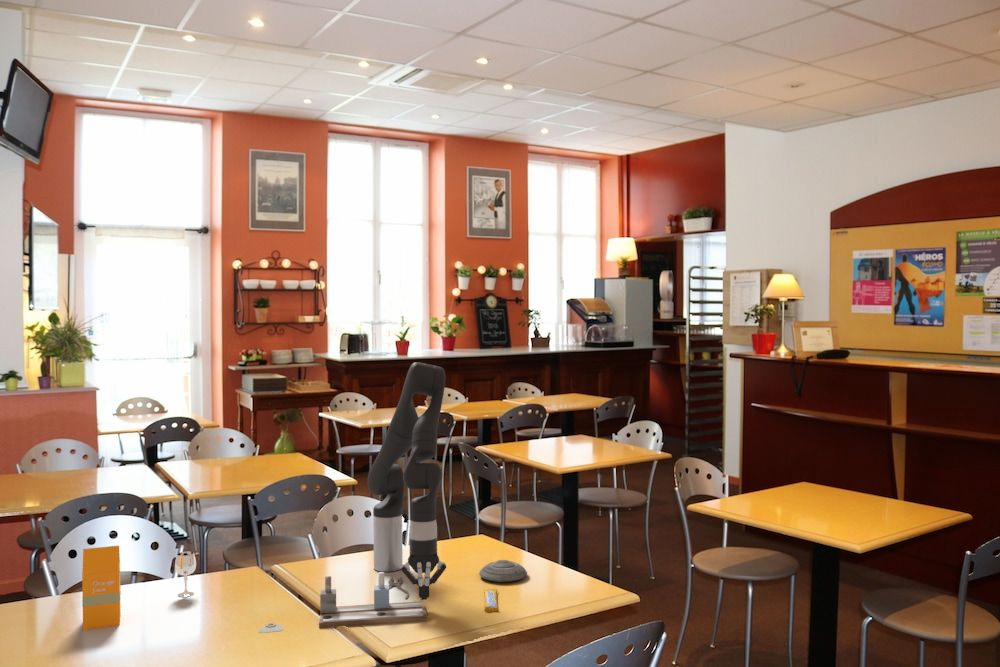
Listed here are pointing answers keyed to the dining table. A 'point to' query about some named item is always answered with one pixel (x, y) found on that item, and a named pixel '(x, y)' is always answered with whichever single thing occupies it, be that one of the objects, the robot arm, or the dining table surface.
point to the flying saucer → (503, 571)
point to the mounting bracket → (271, 628)
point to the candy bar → (491, 600)
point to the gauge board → (365, 611)
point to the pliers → (398, 586)
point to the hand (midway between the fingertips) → (423, 598)
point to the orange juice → (101, 587)
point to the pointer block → (381, 593)
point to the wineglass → (185, 568)
